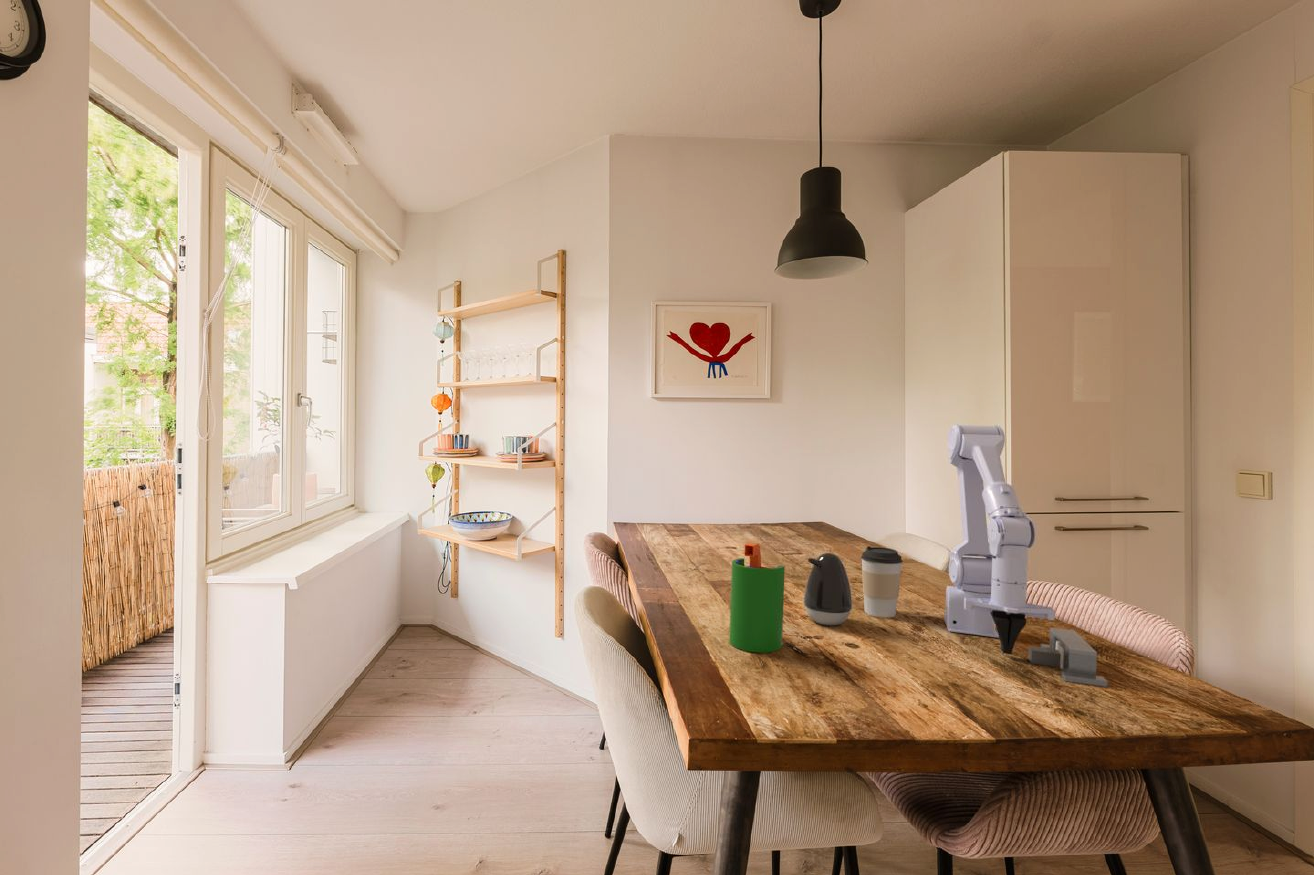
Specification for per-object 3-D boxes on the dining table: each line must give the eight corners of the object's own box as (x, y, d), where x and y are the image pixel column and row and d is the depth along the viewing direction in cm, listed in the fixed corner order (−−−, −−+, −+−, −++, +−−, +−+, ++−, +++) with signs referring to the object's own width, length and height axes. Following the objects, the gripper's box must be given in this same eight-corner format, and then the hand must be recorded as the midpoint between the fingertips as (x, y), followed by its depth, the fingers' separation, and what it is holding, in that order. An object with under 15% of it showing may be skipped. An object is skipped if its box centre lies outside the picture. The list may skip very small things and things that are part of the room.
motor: (785, 641, 116) (788, 540, 116) (775, 657, 108) (778, 548, 108) (736, 632, 120) (739, 535, 120) (722, 647, 112) (725, 543, 112)
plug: (1032, 664, 107) (1033, 644, 107) (1027, 656, 111) (1028, 637, 111) (1087, 672, 104) (1088, 651, 104) (1080, 664, 108) (1081, 644, 108)
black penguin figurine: (793, 616, 132) (795, 549, 131) (831, 612, 135) (833, 547, 135) (821, 632, 122) (823, 559, 122) (861, 627, 126) (863, 556, 126)
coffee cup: (904, 611, 138) (906, 547, 137) (896, 621, 130) (899, 554, 130) (864, 604, 142) (866, 543, 142) (855, 614, 135) (857, 549, 135)
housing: (1065, 680, 101) (1066, 652, 101) (1040, 648, 116) (1041, 623, 116) (1107, 687, 99) (1108, 657, 98) (1076, 653, 114) (1077, 627, 113)
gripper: (968, 580, 109) (966, 653, 109) (1060, 590, 104) (1057, 666, 104) (963, 572, 116) (961, 640, 116) (1049, 580, 111) (1047, 652, 111)
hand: (1006, 652), depth 111 cm, fingers closed
